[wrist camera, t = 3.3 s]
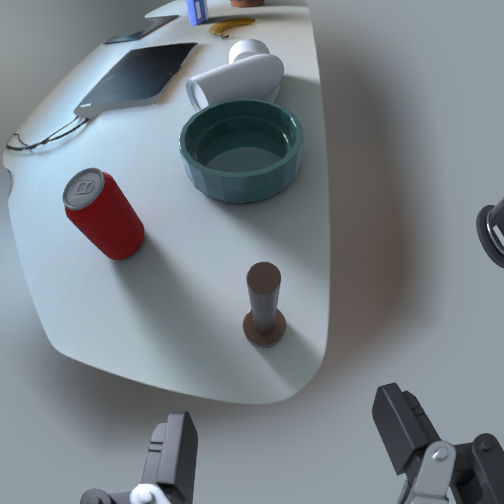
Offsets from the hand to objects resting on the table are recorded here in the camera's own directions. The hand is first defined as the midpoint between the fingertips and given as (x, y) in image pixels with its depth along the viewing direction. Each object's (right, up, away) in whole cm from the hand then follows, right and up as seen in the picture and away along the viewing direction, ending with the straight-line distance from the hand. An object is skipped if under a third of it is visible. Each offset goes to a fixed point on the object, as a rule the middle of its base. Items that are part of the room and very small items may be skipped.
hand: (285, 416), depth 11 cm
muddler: (0, -2, +21) cm, 21 cm away
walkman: (-19, +85, +63) cm, 108 cm away
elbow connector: (-4, +37, +39) cm, 54 cm away
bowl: (-3, +20, +31) cm, 37 cm away
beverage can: (-19, +8, +27) cm, 33 cm away
